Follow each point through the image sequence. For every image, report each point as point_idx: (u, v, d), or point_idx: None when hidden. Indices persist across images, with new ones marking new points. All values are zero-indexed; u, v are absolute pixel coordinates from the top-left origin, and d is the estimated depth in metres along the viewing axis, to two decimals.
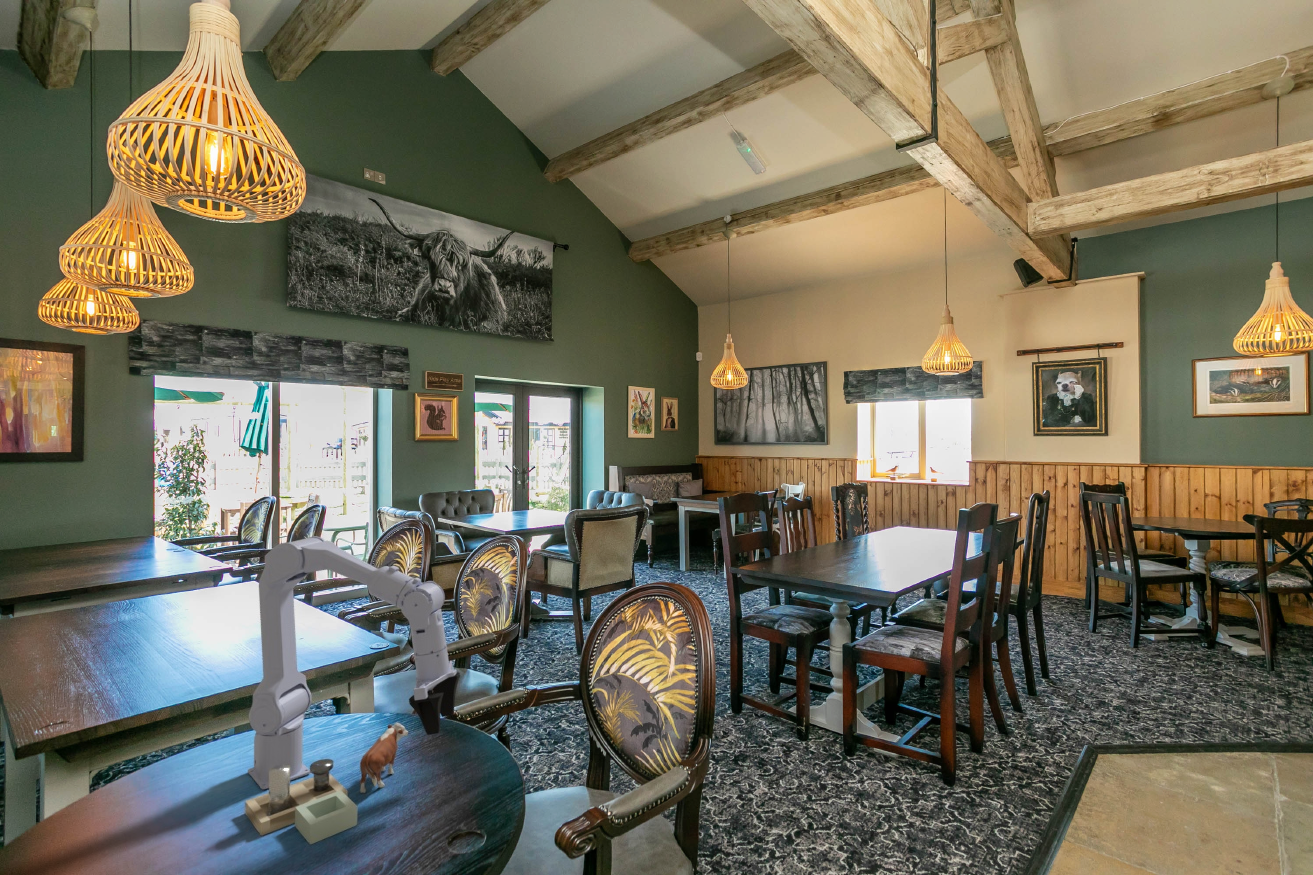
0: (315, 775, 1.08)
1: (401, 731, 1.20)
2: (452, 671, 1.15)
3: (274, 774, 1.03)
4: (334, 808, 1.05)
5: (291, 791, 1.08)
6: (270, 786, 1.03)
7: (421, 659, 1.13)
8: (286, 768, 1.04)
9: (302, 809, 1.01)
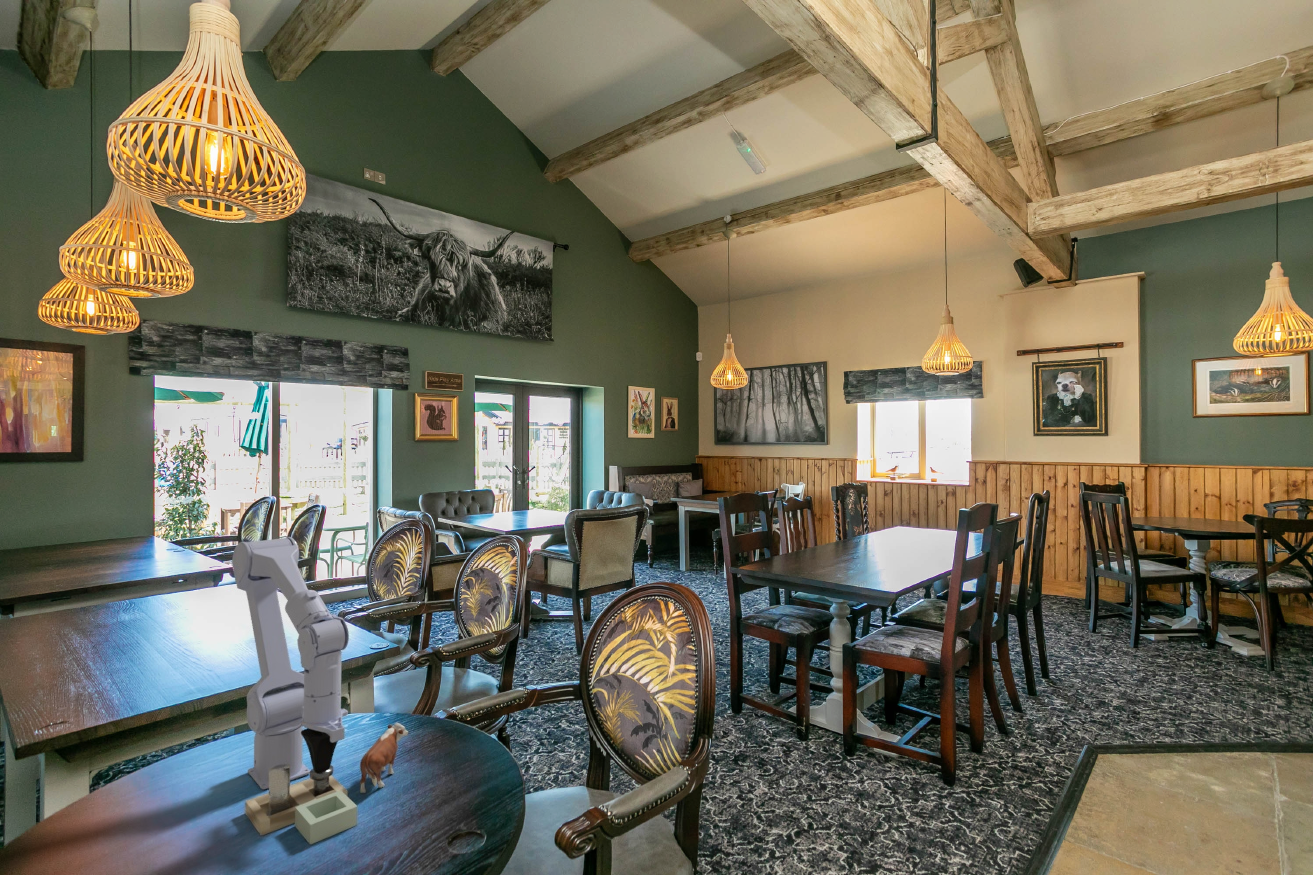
0: (315, 781, 1.08)
1: (401, 731, 1.20)
2: (344, 710, 1.11)
3: (274, 774, 1.03)
4: (334, 808, 1.05)
5: (291, 791, 1.08)
6: (270, 786, 1.03)
7: (323, 700, 1.07)
8: (286, 768, 1.04)
9: (302, 809, 1.01)
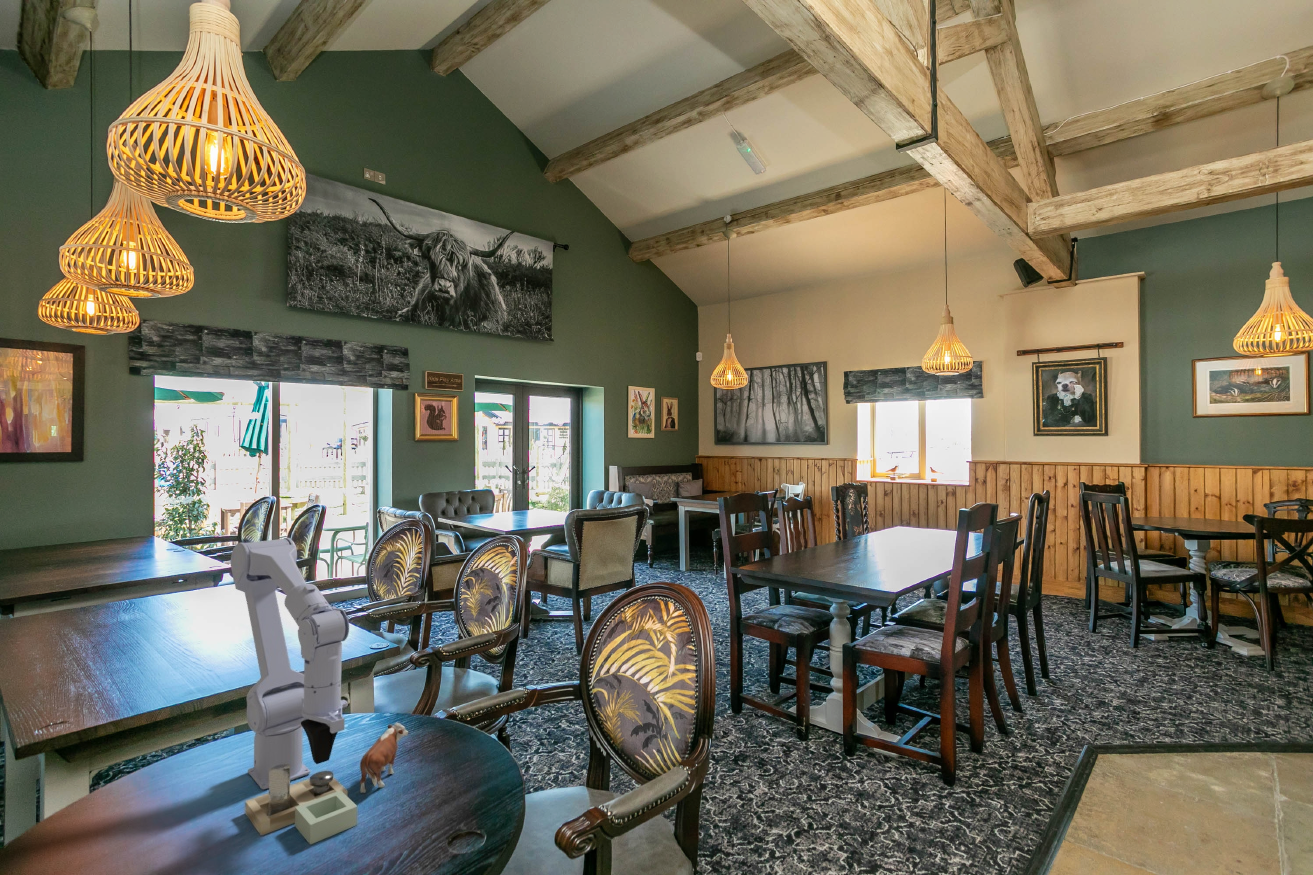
0: (315, 787, 1.08)
1: (401, 731, 1.20)
2: (343, 701, 1.11)
3: (274, 774, 1.03)
4: (334, 808, 1.05)
5: (291, 791, 1.08)
6: (270, 786, 1.03)
7: (324, 691, 1.07)
8: (286, 768, 1.04)
9: (302, 809, 1.01)
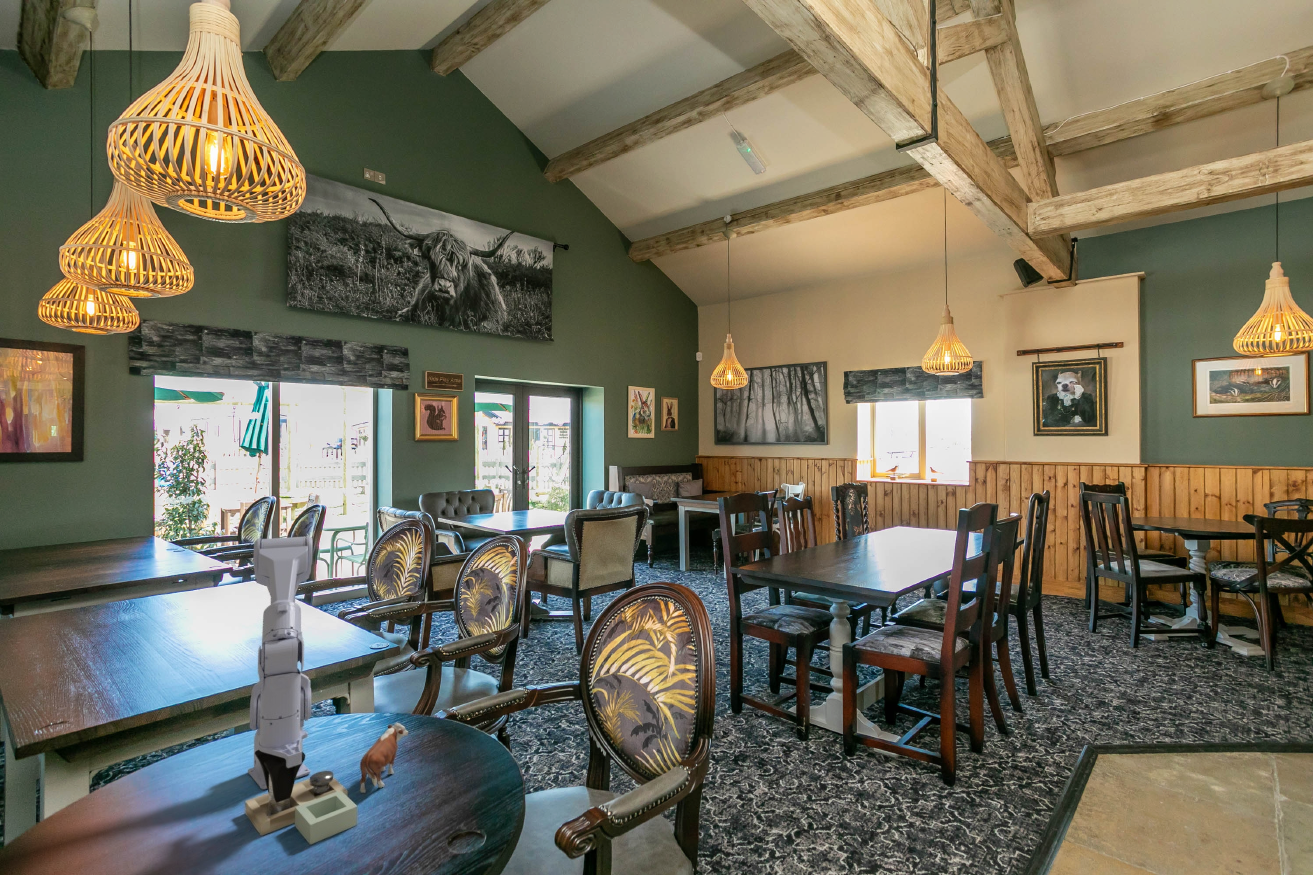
0: (315, 787, 1.08)
1: (401, 731, 1.20)
2: (303, 732, 1.07)
3: None
4: (334, 808, 1.05)
5: None
6: (270, 786, 1.03)
7: (280, 723, 1.02)
8: None
9: (302, 809, 1.01)
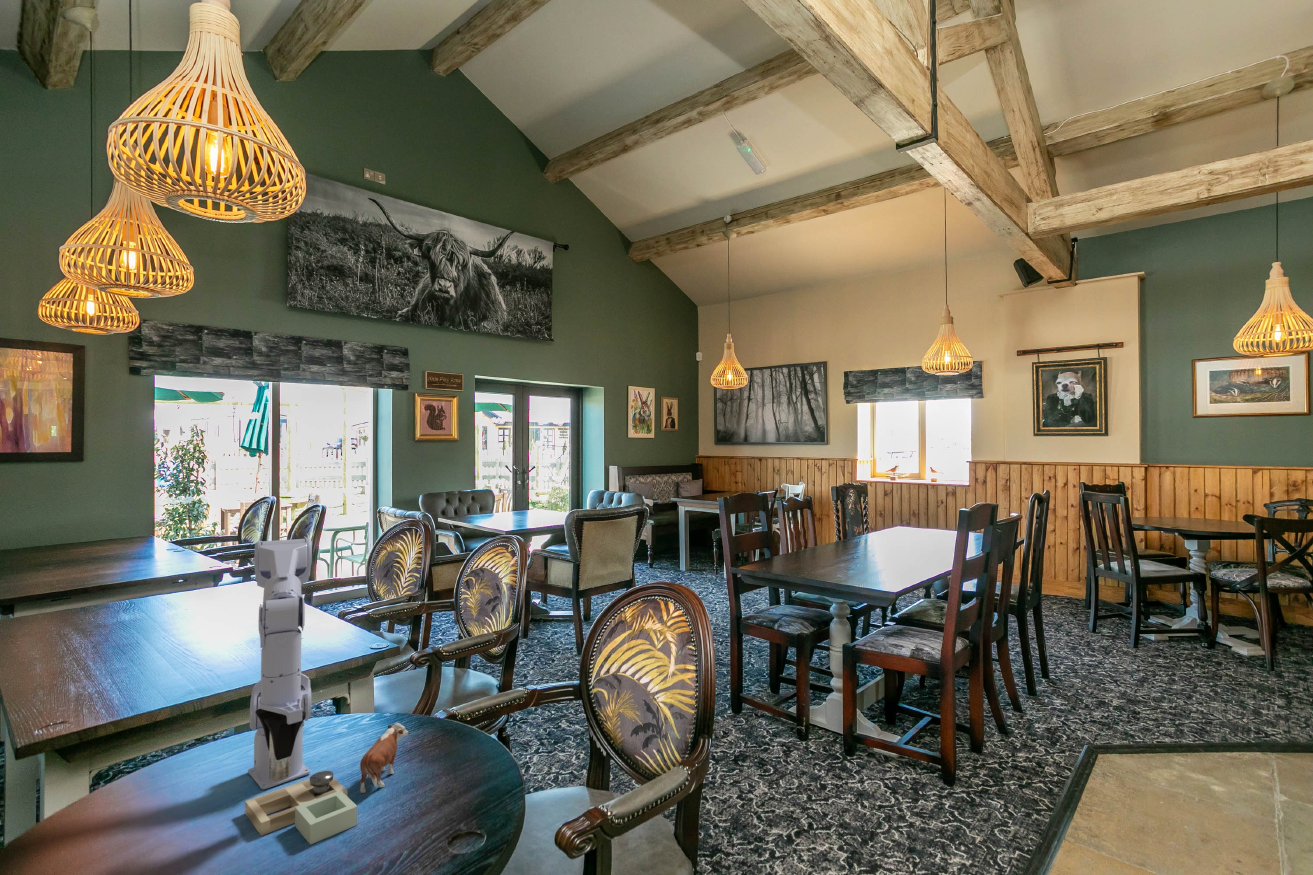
0: (315, 787, 1.08)
1: (401, 731, 1.20)
2: (304, 692, 1.07)
3: None
4: (334, 808, 1.05)
5: (291, 791, 1.08)
6: (271, 744, 1.03)
7: (281, 681, 1.02)
8: None
9: (302, 809, 1.01)
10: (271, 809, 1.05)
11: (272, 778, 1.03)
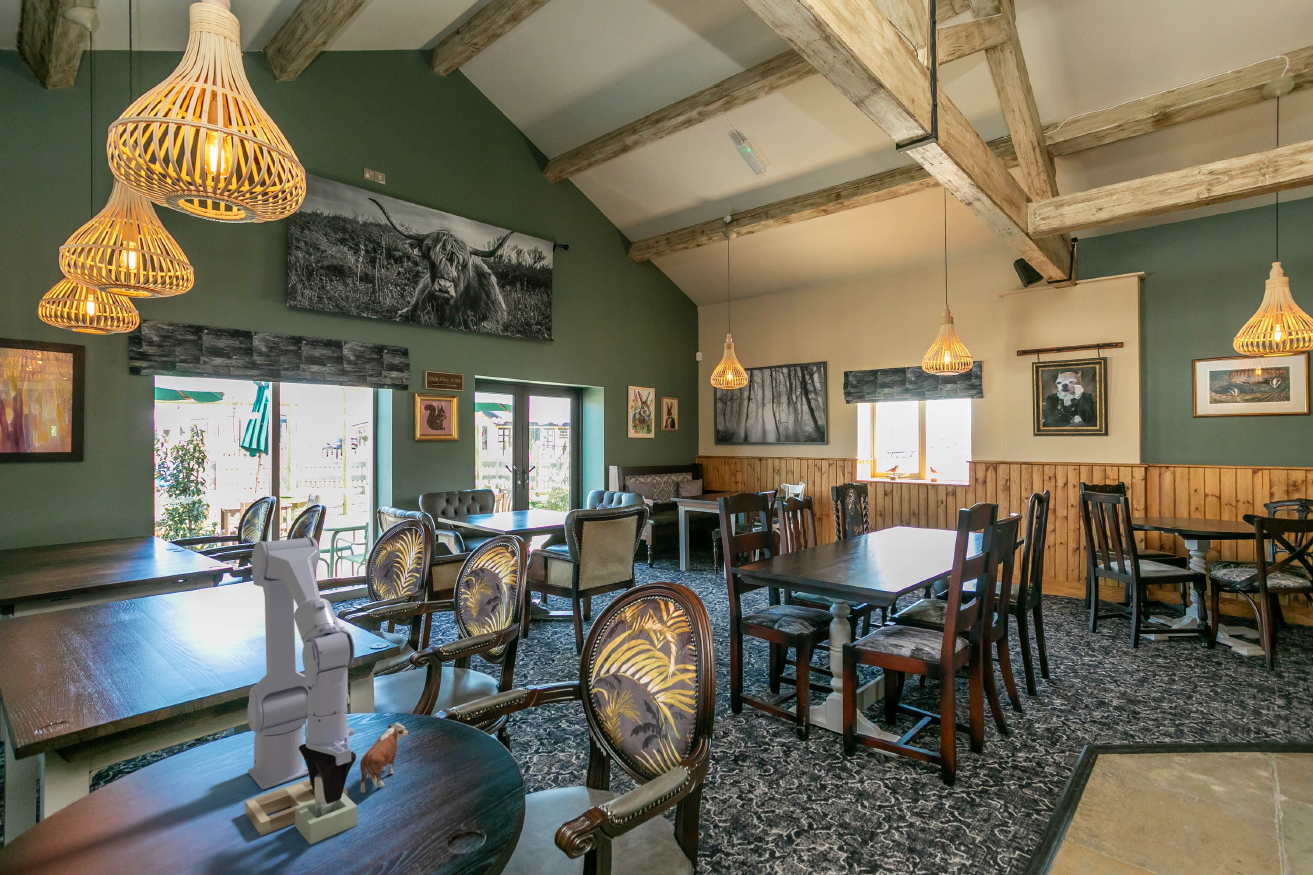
0: None
1: (401, 731, 1.20)
2: (350, 729, 1.04)
3: (320, 781, 1.00)
4: None
5: (291, 791, 1.08)
6: (316, 793, 1.01)
7: (329, 719, 1.00)
8: None
9: (302, 809, 1.01)
10: (271, 809, 1.05)
11: None
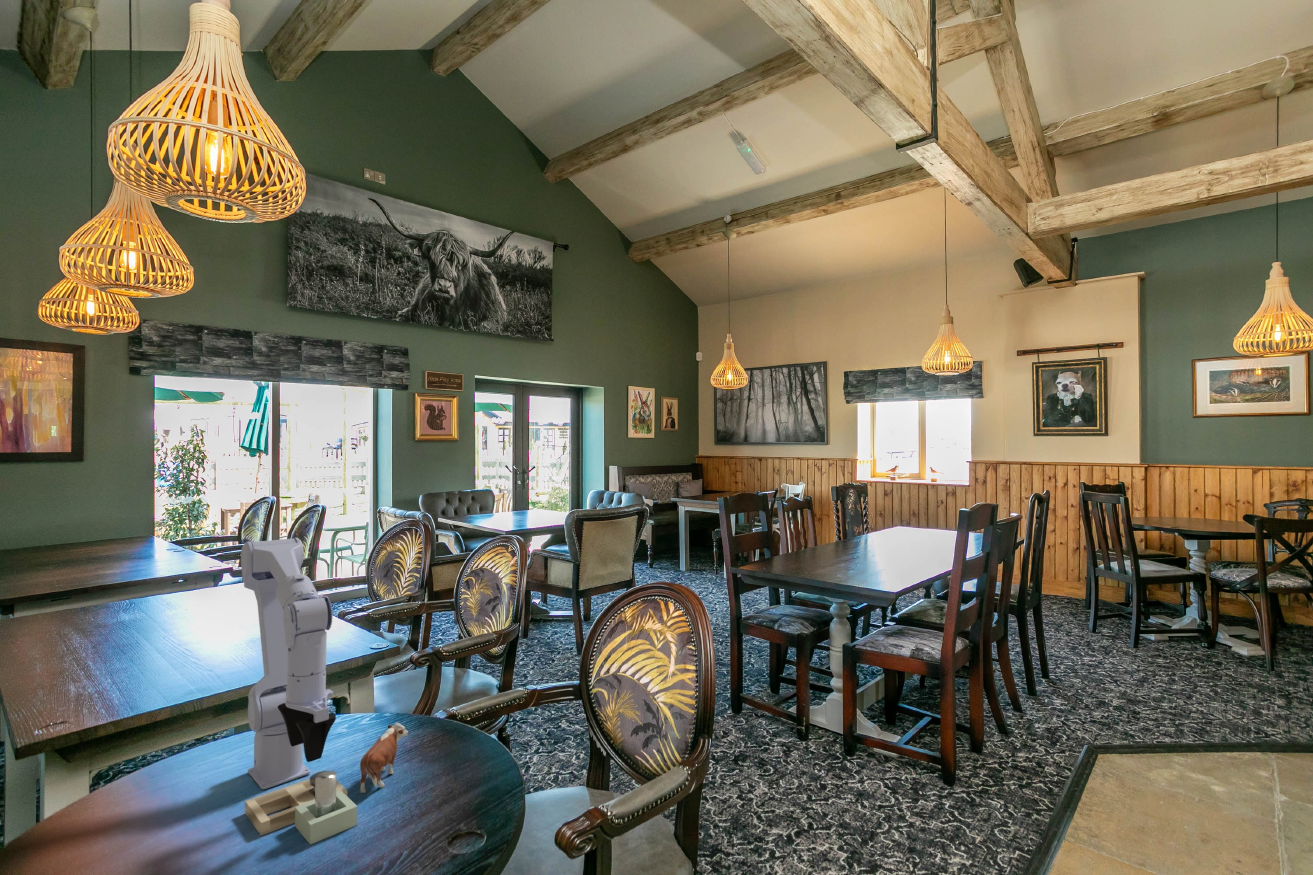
0: None
1: (401, 731, 1.20)
2: (329, 691, 1.09)
3: (321, 782, 1.00)
4: None
5: (291, 791, 1.08)
6: (316, 793, 1.01)
7: (307, 680, 1.04)
8: (332, 775, 1.02)
9: (302, 809, 1.01)
10: (271, 809, 1.05)
11: None
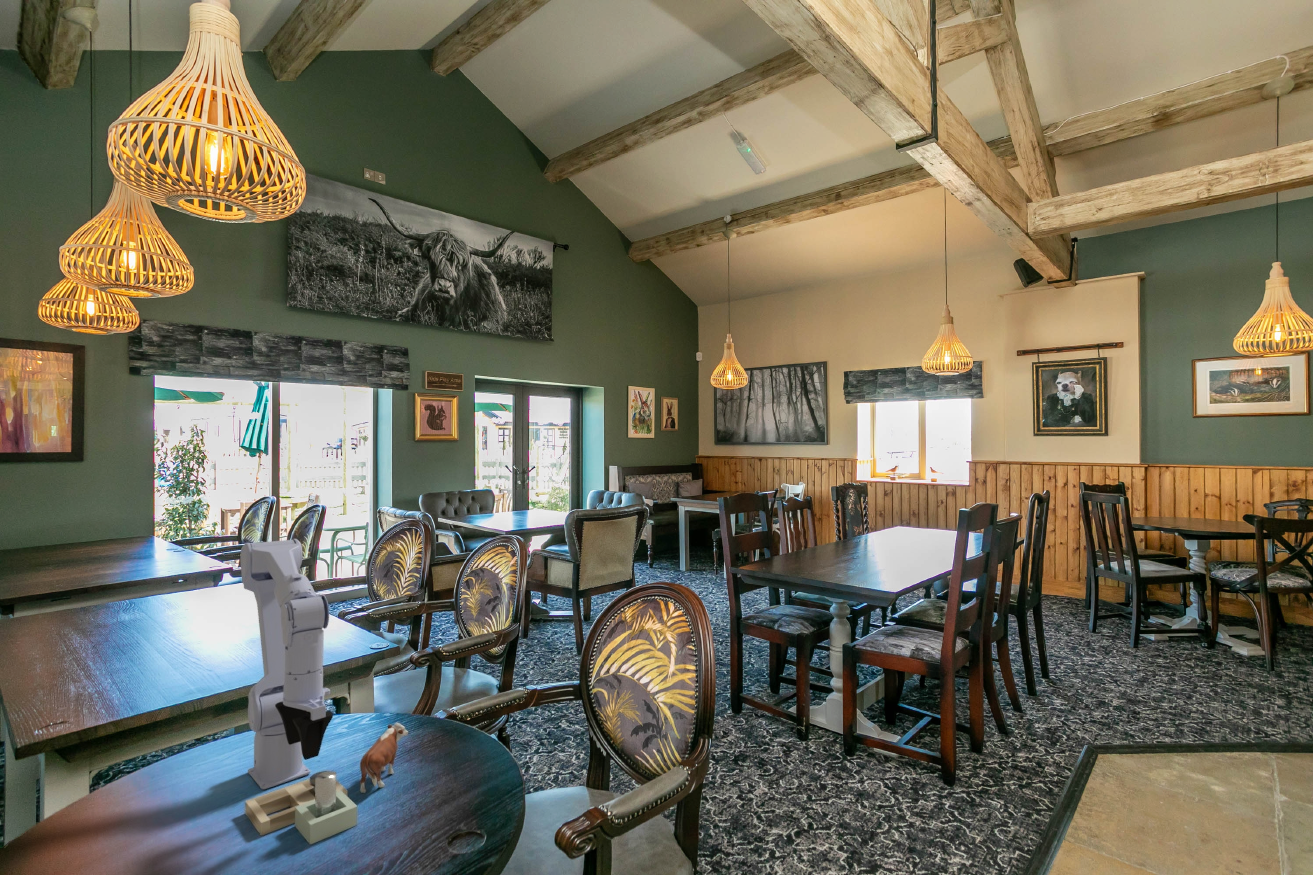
0: None
1: (401, 731, 1.20)
2: (326, 689, 1.09)
3: (321, 782, 1.00)
4: None
5: (291, 791, 1.08)
6: (316, 794, 1.01)
7: (305, 678, 1.05)
8: (332, 775, 1.02)
9: (302, 809, 1.01)
10: (271, 809, 1.05)
11: None
